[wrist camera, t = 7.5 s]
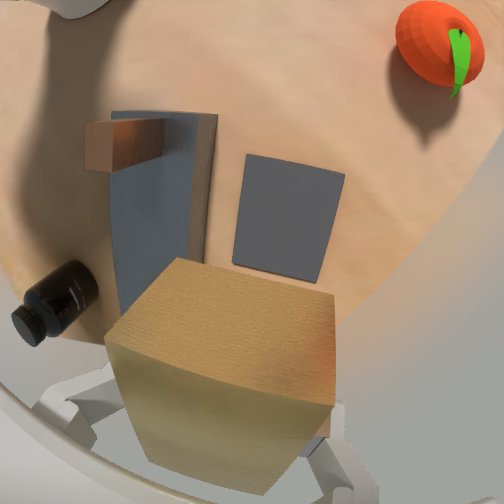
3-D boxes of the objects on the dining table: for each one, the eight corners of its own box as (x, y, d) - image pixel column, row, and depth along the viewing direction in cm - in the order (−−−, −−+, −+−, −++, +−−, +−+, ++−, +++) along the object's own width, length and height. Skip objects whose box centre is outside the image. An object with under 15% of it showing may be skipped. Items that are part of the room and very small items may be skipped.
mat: (247, 153, 23) (246, 154, 22) (344, 174, 22) (345, 175, 21) (233, 259, 27) (231, 262, 27) (316, 279, 26) (316, 282, 26)
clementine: (462, 110, 17) (507, 111, 10) (389, 95, 18) (418, 85, 12) (455, 27, 13) (493, 6, 7) (382, 9, 15) (403, -26, 8)
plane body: (138, 110, 23) (58, 116, 14) (217, 114, 22) (155, 114, 13) (139, 302, 33) (93, 356, 24) (199, 321, 32) (162, 387, 23)
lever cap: (176, 257, 9) (103, 337, 5) (333, 294, 8) (334, 406, 5) (180, 397, 13) (148, 461, 9) (278, 424, 12) (262, 495, 8)
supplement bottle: (106, 286, 33) (46, 344, 23) (90, 309, 36) (39, 361, 26) (72, 248, 32) (7, 296, 21) (60, 275, 35) (5, 320, 24)
